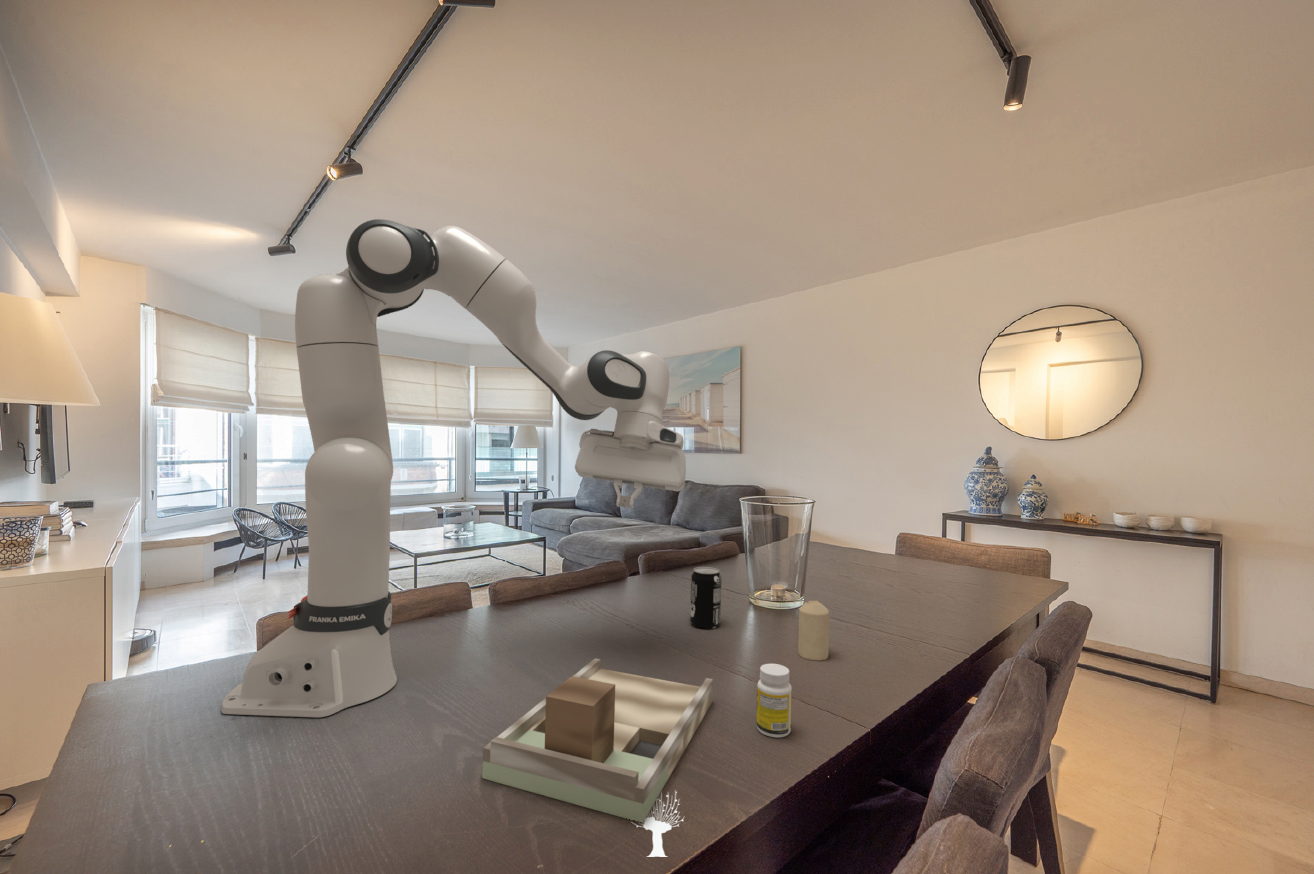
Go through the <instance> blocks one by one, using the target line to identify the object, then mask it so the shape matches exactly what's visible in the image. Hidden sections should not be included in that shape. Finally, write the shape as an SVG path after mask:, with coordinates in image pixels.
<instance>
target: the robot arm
mask: <svg viewBox="0 0 1314 874" xmlns="http://www.w3.org/2000/svg"><path fill="white" fill-rule="evenodd" d="M345 256H346V262H347V265H348V266H347V267H346V268H345V269H344V270H343V271H341V272H339V273H335V274H332V273H331V274H327V273H326V274H320V275H319V274H318V275H315V276H312V277H309V278H307V279H305V280H304V281H303V282H302V283H301V284H300V286H299V287H298V289H297V293H296V301H295V312H294V313H295V314H294V316H295V319H294V320H295V321H294V331H295V332H294V333H295V336H294V337H295V344H296V345H295V346H296V355H297V362H298V371H299V380H300V381H299V382H300V387H301V388H300V390H301V398H302V402H303V403H302V404H303V406H304V409H305V413H306V417H307V421H308V422H307V423H308V426H309V432H310V435H311V439H312V445H313V453H312V455H311V456H310V457H309V459H308V461H307V464H306V466H305V472H304V492H305V497H304V499H305V515H306V516H305V517H306V518H305V519H306V530H307V539H308V563H307V564H308V565H307V567H308V569H307V572H308V573H307V595H306V596H304V597H302V598H301V600H300V602H298V603H297V604H295V605H294V606H293V608H292V609H290V610H289V611H288V613H289V614H288V616H287V617H288V619H289V620H290V619H292V618H293V619H292V621H293V623H292V625H291V626H290V627H289V628H287V629H286V630H284V631H283V632H282V633H280V634H279V635H277V636H276V637H275V638H274V639H272V640H271V641H269V642H268V643H267V644H266V645H264V646H263V647H261V648H260V650H258V651H257V652H256V653H255V654H254V655H253V656H252V657H251V659H250V660H249V662H248V664H247V666H246V668H245V671H244V672H245V673H244V675H243V679H242V682H241V683H239V684H238V685H237V686H235V687H234V688H233V689H231V690H230V691H229V692H228V693H227V694H226V696H225V697H224V698H223V700H222V703H221V707H220V709H221V711H220V712H221V713H222V714H225V715H239V716H240V715H242V716H243V715H245V716H246V715H247V716H267V717H268V716H269V717H270V716H273V717H295V718H296V717H299V718H324V717H328V716H331V715H333V714H336V713H338V712H340V711H342V710H344V709H347V708H348V707H352V706H356V705H359V704H364V703H367V702H368V701H372V700H373V699H376V698H378V697H380V696H382V695H384V694H386V693H388V692H389V691H390V690H392V688H394V687H395V685H396V684H397V682H398V676H397V673H396V671H395V668H394V663H393V659H392V657H393V656H392V652H391V651H392V649H391V643H390V631H389V630H391V629H390V628H391V625H392V618H393V617H392V616H393V615H392V614H393V604H392V594H391V592H390V591H389V589H390V588H389V585H390V583H389V582H390V554H391V550H390V549H391V493H392V492H391V484H392V479H393V476H394V463H393V462H394V461H393V454H392V447H391V440H390V438H391V437H390V432H389V424H388V423H389V422H388V415H387V408H386V401H385V393H384V385H383V384H384V383H383V376H382V375H383V373H382V368H381V367H382V366H381V357H380V348H379V340H378V333H377V332H378V331H377V320H378V319H377V318H379V317H383V316H385V315H388V314H389V315H390V314H393V313H396V312H400V311H404V310H406V309H409V308H410V307H412V306H413V305H415V304H416V303H417V302H418V301H419V300H420V299H421V297H422V296H423V293H424V291H425V290H433V291H436V292H440V293H442V294H445V295H446V296H448V297H450V298H451V299H453V300H454V301H455V303H457V304H459V305H460V306H461V307H462V308H464V309H465V310H466V311H467V312H469V313H470V314H471V315H472V316H474V317H475V318H476V319H477V320H478V321H479V322H480V323H482V324H483V325H484V326H485V327H486V328H487V329H488V330H490V332H491V333H492V334H494V336H495V337H496V338H497V339H498V341H499V342H500V344H501V345H503V346H504V347H505V349H507V350H508V352H509V353H510V354H511V355H512V356H514V358H515V359H517V361H519V362H520V363H521V364H522V365H523V366H524V367H525V368H526V369H527V370H529V371H530V373H532V375H534V376H535V377H536V378H537V379H538V380H540V381H541V383H543V385H544V386H546V387H547V388H548V389H549V390H550V391H551V393H552V394H553V396H554V397H555V398H556V400H557V402H558V403H559V405H560V407H561V408H562V409H563V411H564V412H566V414H568V415H569V416H571V418H572V417H573V419H576V420H580V421H590V420H593V419H596V418H598V417H599V416H600V415H601V414H602V413H604V412H605V411H606V410H608V409H609V408H611V409H614V410H616V412H617V414H616V420H615V424H614V430H613V431H612V430H604V429H603V430H601V429H597V428H590V429H589V430H586V431H584V432H583V433H582V434H581V435H580V439H579V443H578V444H579V445H578V446H579V451H578V455H577V457H576V460H575V464H574V469H575V472H576V474H577V475H578V476H579V477H581V478H588V479H594V480H602V481H605V482H606V481H608V482H612V483H613V488H614V490H615V493H616V496H617V498H616V503H615V505H616V507H617V508H626V509H634V502H635V500H636V499H637V498H638V497H639V495H640V494H641V493H643V488H644V487H646V488H651V489H652V488H654V489H658V490H659V489H660V490H668V491H674V492H680V491H682V490H683V489H684V487H685V485H686V483H685V482H686V471H687V469H686V468H687V467H686V463H687V462H686V455H685V452H684V450H683V449H684V444H685V443H684V436H683V435H682V434H681V433H679V432H677V431H675V430H672V429H671V428H669V427H666V426H664V417H663V414H664V410H665V408H666V405H667V402H668V397H669V389H670V387H669V385H670V371H669V366H668V364H667V363H666V361H665V360H664V359H663V357H661V356H659V355H658V354H656V353H653V352H650V351H645V350H640V351H637V352H634V353H627V354H626V353H624V354H623V353H619V352H617V351H614V350H608V349H607V350H601V351H598V352H596V353H594V354H593V355H592V356H591V357H589V358H588V359H586V360H585V361H583V363H581V365H579V366H575V365H573V364H571V363H569V362H568V361H567V360H566V358H564V357H563V356H562V355H561V354H560V353H559V352H558V351H557V350H556V349H555V348H554V347H553V346H552V345H551V344H550V343H549V342H548V341H547V340H545V339H544V337H543V335H541V333H540V331H539V329H538V325H537V319H536V318H537V317H536V315H537V314H536V313H537V312H536V311H537V295H536V292H535V288H534V285H533V283H532V282H531V281H530V280H529V279H528V278H527V276H526V275H525V274H524V273H523V272H522V271H521V270H520V269H519V268H518V267H517V266H516V265H514V264H513V263H512V262H511V261H510V260H509V259H507V258H506V257H505V256H503V254H501V253H500V252H498V251H497V250H496V249H495V248H493V247H492V246H491V245H489V244H488V243H486V242H485V241H483V240H482V239H481V238H479V237H478V236H475V235H474V234H472V233H471V232H469V231H467V230H465V229H464V228H462V227H459V226H456V225H445V226H442V227H440V228H439V229H437V230H435V231H434V232H433V233H432V234H429V233H428V232H427V231H426V230H424V229H421V228H416V227H411V226H407V225H405V224H402V223H399V222H397V221H393V220H390V219H389V220H388V219H383V218H381V219H380V218H378V219H370V220H367V221H365V222H363V223H361V224H360V225H358V226H357V227H356V228H355V229H354V230H353V231H352V232H351V234H350V236H349V238H348V240H347V243H346V249H345ZM624 484H627V485H633V490H634V491H633V493H632V494H631V495H630V496H627V495H626V496H625V495H622V493H621V490H620V489H623V486H624Z"/></svg>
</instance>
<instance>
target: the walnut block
mask: <svg viewBox="0 0 1314 874" xmlns="http://www.w3.org/2000/svg"><path fill="white" fill-rule="evenodd" d="M545 698H546V716H545V749H547V750H551V751H555V752H559V753H564V754H568V755H572V756H576V757H580V758H584V759H588V760H592V761H596V762H600V763H604V762H605V761H606V760H607V758H608V757H609V756H610V755H611V753H612V752H613V751H614V717H615V684H610V683H605V682H600V681H595V680H589V679H584V678H579V677H574V675H571V676H570V677H569V678H567V679H566V680H565V681H564V682H562V683H561V684H559V685H558V686H557V687H556V688H555V689H553V690H552V691H551V692H550V693H549V694H547V695H546V696H545Z"/></svg>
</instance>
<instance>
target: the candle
mask: <svg viewBox="0 0 1314 874" xmlns="http://www.w3.org/2000/svg"><path fill="white" fill-rule="evenodd" d="M829 636H830V611H829V609H828V608H827V607H826V606H825V605H824V604H822V603H821V602H819V601H818V600H808V601H805V602H804V603H803V604H802V605H800V607H799V608H798V645H797V646H798V649H797V650H798V652H797V653H798V655H799V656H800V657H801V658H803V659H806V660H810V661H819V662H821V661H825V660H827V659H828V658H829V649H830V647H829V646H830V645H829V643H830V641H829V639H830V637H829Z"/></svg>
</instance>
